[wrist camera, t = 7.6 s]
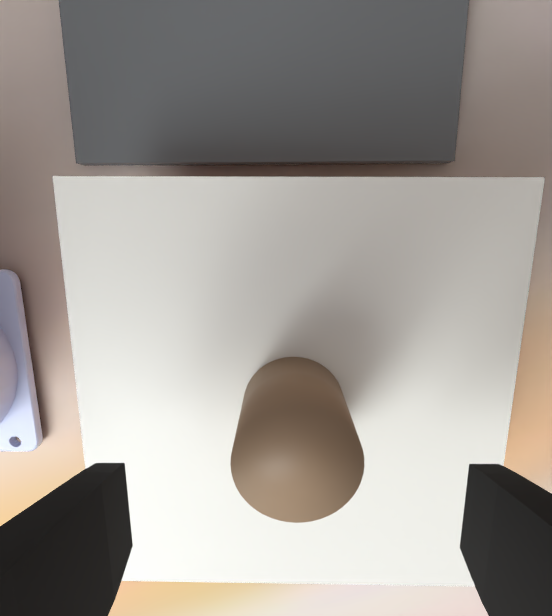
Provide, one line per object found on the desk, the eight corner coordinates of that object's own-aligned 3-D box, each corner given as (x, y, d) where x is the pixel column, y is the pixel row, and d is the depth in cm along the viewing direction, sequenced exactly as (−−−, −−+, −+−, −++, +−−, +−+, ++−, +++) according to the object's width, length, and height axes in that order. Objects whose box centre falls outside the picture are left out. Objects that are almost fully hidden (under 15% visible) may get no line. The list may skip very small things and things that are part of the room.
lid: (110, 555, 14) (45, 683, 10) (72, 179, 11) (-39, 157, 7) (471, 561, 14) (546, 693, 10) (521, 181, 11) (652, 158, 7)
